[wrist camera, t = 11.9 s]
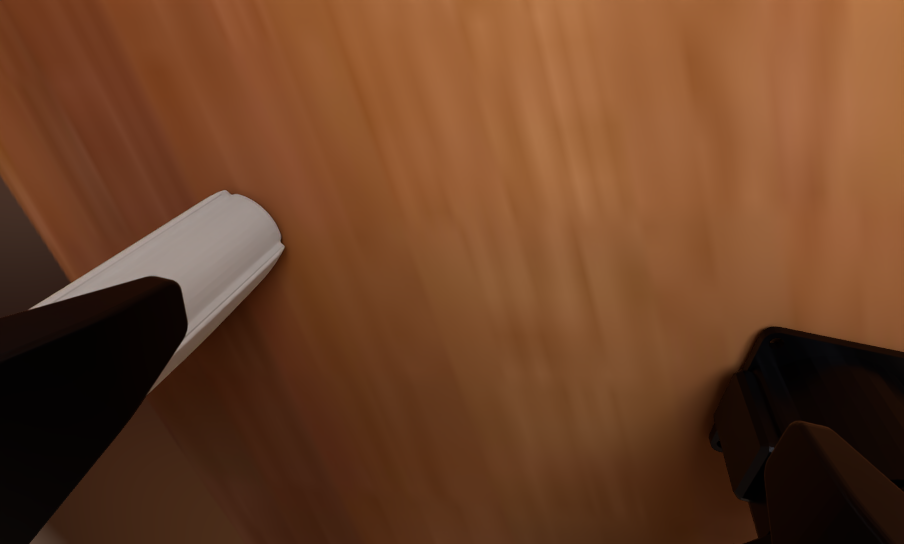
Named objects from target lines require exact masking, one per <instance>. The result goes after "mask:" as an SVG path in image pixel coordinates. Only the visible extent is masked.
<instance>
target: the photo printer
mask: <svg viewBox="0 0 904 544" xmlns="http://www.w3.org/2000/svg"><path fill="white" fill-rule="evenodd" d="M280 240H281V234H280V231H279V229H278V227H277V225H276V223H275V222H274V220H273V219H272V217H271V216H270V215H269V214H268V213H267V211H266V210H265V209H263V208H262V207H261V206H260V205H259V204H257V203H256V202H254V201H253V200H251V199H249V198H247V197H245V196H242V195H239V194H234V195H231V194H230V193H229V192H228V191H226V190H223V191H220V192H217V193H215V194H213V195H211V196H210V197H208V198H206V199H204V200H203V201H201V202H200V203H198V204H196V205H195V206H193V207H192V208H190V209H188V210H187V211H185V212H184V213H182V214H180V215H179V216H177V217H176V218H174V219H173V220H171V221H169V222H168V223H166V224H165V225H163V226H161V227H160V228H158V229H157V230H155V231H154V232H152V233H150V234H149V235H147V236H146V237H144V238H142V239H141V240H139V241H138V242H136V243H134V244H133V245H131V246H130V247H128V248H126V249H125V250H123V251H122V252H120V253H119V254H117V255H115V256H114V257H112V258H111V259H109V260H107V261H106V262H104V263H103V264H101V265H99V266H98V267H96V268H95V269H93V270H91V271H90V272H88V273H87V274H85V275H83V276H82V277H80V278H79V279H77V280H75V281H74V282H72V283H71V284H69V285H67V286H66V287H64V288H63V289H61V290H59V291H58V292H56V293H54V294H53V295H52V296H50V297H48V298H46V299H45V300H43V301H42V302H40V303H38V304H37V305H35V306H34V307H32V308H30V309H34V308H37V307H41V306H44V305H48V304H51V303H55V302H58V301H62V300H65V299H69V298H72V297H76V296H79V295H83V294H86V293H90V292H94V291H97V290H101V289H104V288H108V287H111V286H115V285H118V284H122V283H125V282H129V281H132V280H136V279H139V278H143V277H146V276H158V277H162V278H167V279H171V280H174V281H176V282H178V284H179V285H180V287H181V289H182V294H183V299H184V304H185V309H186V314H187V319H188V329H187V333H186V336H185V338H184V340H183V341H182V343H181V344H180V346H179V347H178V349H177V350H176V352H175V353H174V355H173V356H172V358H171V359H170V361H169V362H168V364H167V365H166V367H165V368H164V370H163V371H162V373H161V374H160V376H159V377H158V379H157V380H156V382H155V383H154V385H153V387H152V388H151V390H150V391H149V393H150V392H151V391H152V390H153V389H154V388H155V387H156V386H157V385H158V384H159V383H160V382H161V381H162V380H164V379H165V378H166V377H167V376H168V375H169V374H170V373H171V372H172V371H173V370H174V369H175V368H176V367H177V366H178V365H179V364H180V363H181V362H182V361H184V360H185V359H186V358H187V357H188V356H189V355H190V354H191V353H192V352H193V351H194V350H195V349H196V348H197V347H198V346H199V345H200V344H201V343H202V342H203V341H204V340H205V339H206V338H207V337H208V336H209V335H210V334H211V333H212V332H213V331H214V330H215V329H216V328H217V327H218V326H219V325H220V324H221V323H222V322H223V321H224V320H225V319H226V318H227V317H228V316H229V315H230V313H231V312H232V311H233V310H234V309H235V308H236V307H237V306H238V305H239V304H240V303H241V302H242V301H243V300H244V299H245V298H246V297H247V296H248V295H249V294H250V293H251V292H252V291H253V289H254V288H255V287H256V286H257V285H258V284H259V283H260V282H261V281H262V280H263V279H264V278H265V277H266V275H267V274H268V273H269V272H270V270H271V269H272V268H273V266H274V265H275V263H276V262H277V261H278V259H279V257H280V256H281V254H282V252H283V250H284V248H285V246H284V245H283V244H282V243H281V241H280ZM30 309H29V310H30ZM149 393H148V394H149ZM148 394H147V395H148Z"/></svg>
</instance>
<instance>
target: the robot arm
mask: <svg viewBox="0 0 904 544" xmlns="http://www.w3.org/2000/svg"><path fill="white" fill-rule="evenodd" d="M187 329H188V319H187V314H186V309H185V304H184V299H183V294H182V289H181V287H180V285H179V284H178V282H176V281H174V280H171V279H167V278H162V277H158V276H146V277H143V278H139V279H136V280H132V281H129V282H125V283H122V284H118V285H115V286H111V287H108V288H104V289H101V290H97V291H94V292H90V293H86V294H83V295H79V296H76V297H72V298H69V299H65V300H62V301H58V302H55V303H51V304H48V305H44V306H41V307H37V308H34V309H30V310H27V311H23V312H19V313H16V314H12V315H9V316H5V317H2V318H0V544H29V543H30V542H31V541H32V540H33V539H34V537H35V536H36V535H37V534H38V532H39V531H40V530H41V529H42V527H43V526H44V525H45V524H46V523H47V521H48V520H49V519H50V518H51V516H52V515H53V514H54V513H55V512H56V510H57V509H58V508H59V506H60V505H61V504H62V503H63V502H64V500H65V499H66V498H67V497H68V496H69V494H70V493H71V492H72V491H73V489H74V488H75V487H76V486H77V485H78V483H79V482H80V481H81V480H82V478H83V477H84V476H85V475H86V473H87V472H88V471H89V470H90V468H91V467H92V466H93V465H94V464H95V462H96V461H97V460H98V458H99V457H100V456H101V455H102V454H103V453H104V451H105V450H106V449H107V448H108V446H109V445H110V444H111V443H112V441H113V440H114V439H115V438H116V436H117V435H118V434H119V433H120V432H121V430H122V429H123V428H124V426H125V425H126V424H127V423H128V421H129V420H130V419H131V417H132V416H133V415H134V413H135V412H136V410H137V409H138V407H139V406H140V405H141V403H142V402H143V400H144V399H145V397H146V396H147V394H148V393H149V391H150V390H151V388H152V387H153V385H154V383H155V382H156V380H157V379H158V377H159V376H160V374H161V373H162V371H163V370H164V368H165V367H166V365H167V364H168V362H169V361H170V359H171V358H172V356H173V355H174V353H175V352H176V350H177V349H178V347H179V346H180V344H181V343H182V341H183V340H184V338H185V336H186V333H187ZM775 338H780V340H779V341H778V342H775V343H770V341H771V340H772V339H775ZM714 420H715V424H714V426H713V428H712V430H711V432H710V434H709V440H710V444H711V446H712V448H713V449H714V450H716V451H719V452H723V455H724V458H725V462H726V466H727V470H728V474H729V477H730V481H731V485H732V489H733V492H734V494H735V495H736V496H737V498H738V499H740V500H743V501H747V502H748V503H749V507H750V510H751V514H752V517H753V521H754V524H755V528H756V531H757V535H758V538H757V539H755V540H752V541H749V542H746V543H744V544H904V352H900V351H895V350H890V349H885V348H880V347H875V346H870V345H866V344H861V343H856V342H851V341H846V340H841V339H836V338H831V337H826V336H821V335H816V334H811V333H806V332H801V331H797V330H792V329H787V328H782V327H770V328H767V329H765V330H763V331H762V332H761V334H760V335H759V337H758V339H757V341H756V343H755V345H754V347H753V349H752V351H751V353H750V355H749V357H748V359H747V361H746V363H745V365H744V367H743V369H742V370H739V371H738V372H736V373H735V374H734V376H733V378H732V380H731V382H730V384H729V386H728V388H727V390H726V392H725V394H724V396H723V398H722V400H721V402H720V404H719V406H718V408H717V410H716V412H715V414H714ZM719 440H720V441H719Z"/></svg>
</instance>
